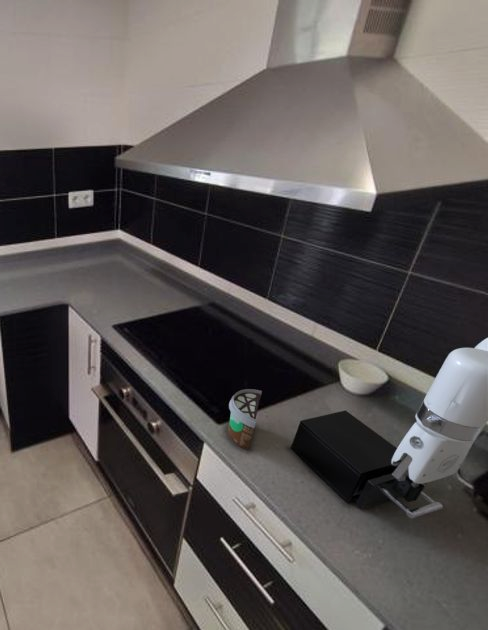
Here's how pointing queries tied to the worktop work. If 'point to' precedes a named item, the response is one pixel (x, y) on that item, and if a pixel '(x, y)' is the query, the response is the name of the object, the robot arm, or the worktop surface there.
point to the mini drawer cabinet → (341, 451)
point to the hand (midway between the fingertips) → (403, 494)
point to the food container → (243, 416)
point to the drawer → (388, 493)
